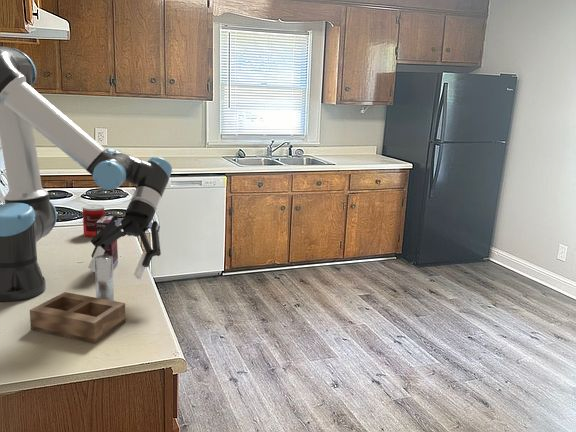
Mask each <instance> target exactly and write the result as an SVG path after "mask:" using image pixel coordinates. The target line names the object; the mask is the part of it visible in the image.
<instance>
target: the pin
mask: <svg viewBox="0 0 576 432" xmlns="http://www.w3.org/2000/svg"><path fill="white" fill-rule="evenodd" d="M94 273H95V276H94V277H95V298H100V299H106V300H111V301H115V296H114V295H115V292H114V286H115V285H114V270H113V257H112V256H110V255H100V256H97V257H95V272H94Z"/></svg>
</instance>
